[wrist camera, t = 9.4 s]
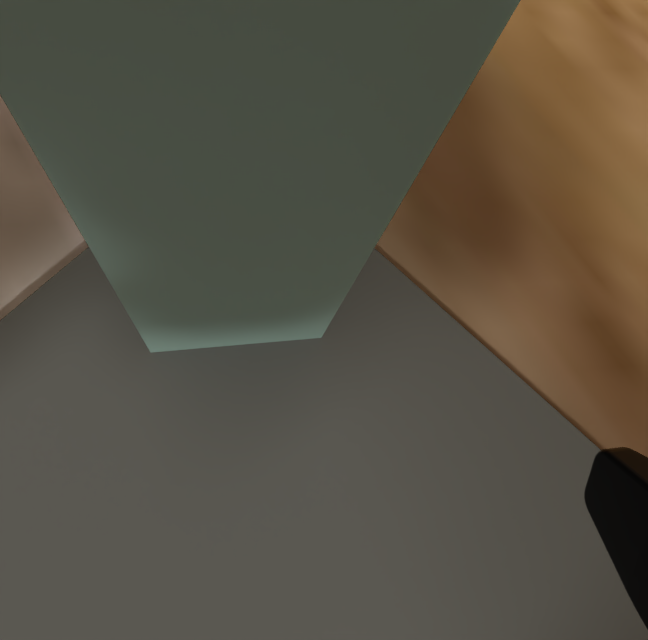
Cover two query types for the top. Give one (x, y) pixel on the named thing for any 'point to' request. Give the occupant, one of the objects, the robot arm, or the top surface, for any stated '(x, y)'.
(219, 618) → the mat
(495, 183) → the top surface
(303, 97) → the block
